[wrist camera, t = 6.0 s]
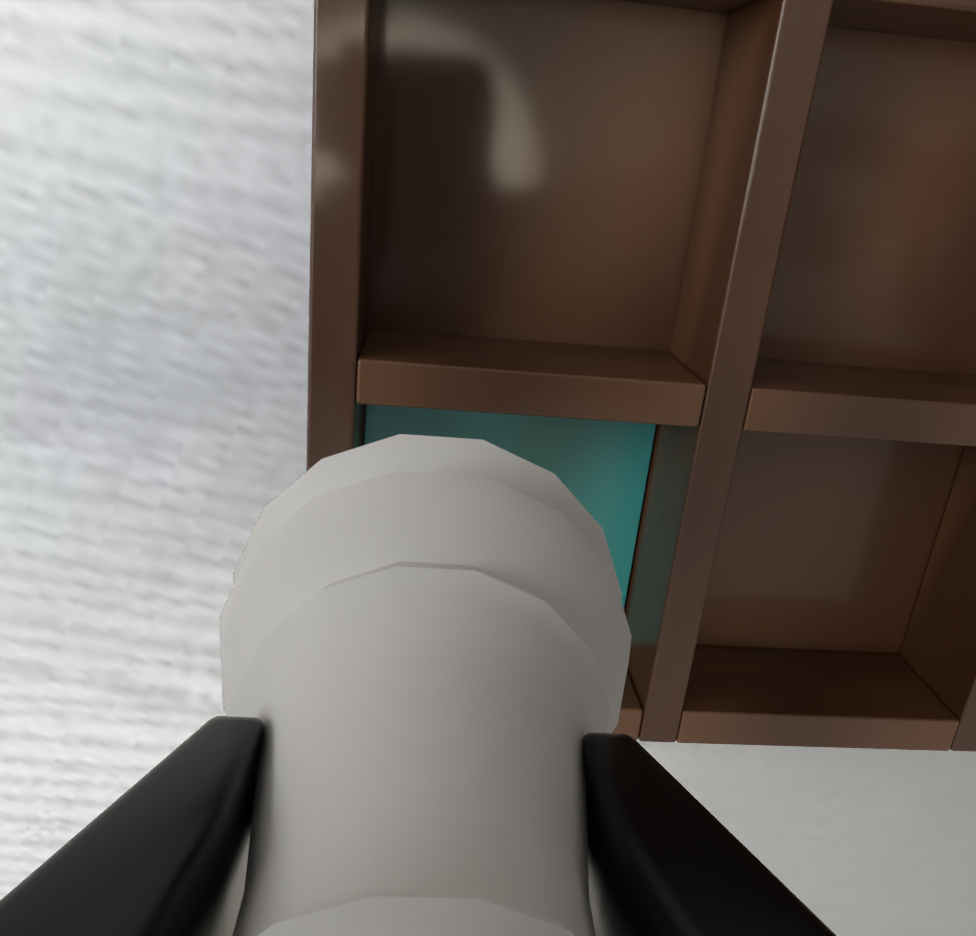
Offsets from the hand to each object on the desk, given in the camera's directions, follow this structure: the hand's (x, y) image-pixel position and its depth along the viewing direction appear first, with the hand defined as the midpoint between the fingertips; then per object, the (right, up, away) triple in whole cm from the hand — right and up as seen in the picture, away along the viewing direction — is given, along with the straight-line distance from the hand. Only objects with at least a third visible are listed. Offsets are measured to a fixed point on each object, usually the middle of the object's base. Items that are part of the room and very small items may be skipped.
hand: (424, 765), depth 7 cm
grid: (+5, +5, +10) cm, 12 cm away
